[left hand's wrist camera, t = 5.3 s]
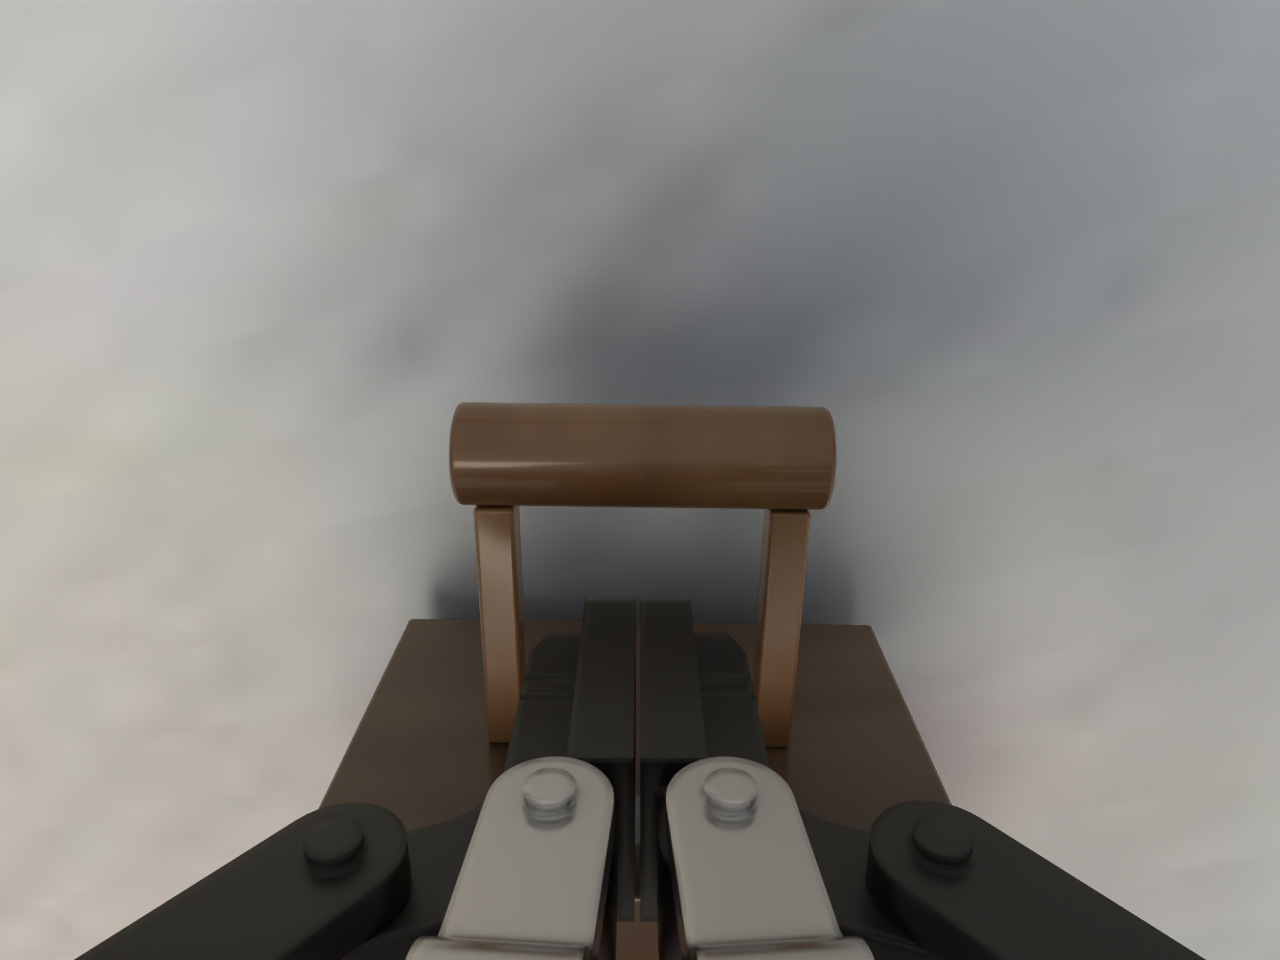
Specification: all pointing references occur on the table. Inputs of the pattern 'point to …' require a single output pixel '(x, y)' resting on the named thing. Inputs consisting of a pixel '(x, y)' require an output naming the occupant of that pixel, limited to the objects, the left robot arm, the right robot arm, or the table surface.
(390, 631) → the table surface
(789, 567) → the drawer
